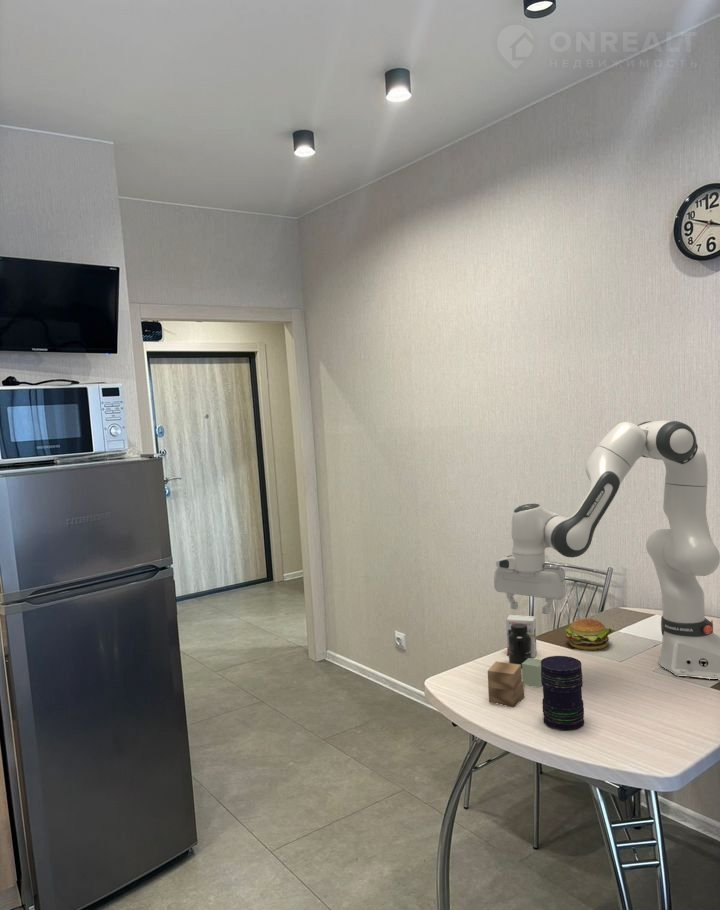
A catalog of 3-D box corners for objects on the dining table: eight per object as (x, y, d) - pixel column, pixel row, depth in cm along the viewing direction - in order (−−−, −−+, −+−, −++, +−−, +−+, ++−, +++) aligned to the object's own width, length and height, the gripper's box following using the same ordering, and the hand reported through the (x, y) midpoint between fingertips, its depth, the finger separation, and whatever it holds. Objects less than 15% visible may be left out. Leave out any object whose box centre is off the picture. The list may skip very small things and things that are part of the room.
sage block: (546, 681, 197) (545, 660, 197) (539, 687, 193) (538, 666, 193) (529, 678, 200) (528, 657, 200) (522, 684, 196) (521, 663, 196)
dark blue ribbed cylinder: (560, 734, 166) (557, 673, 165) (534, 718, 175) (531, 660, 174) (593, 724, 170) (590, 664, 169) (566, 709, 179) (563, 652, 178)
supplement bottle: (532, 668, 207) (530, 629, 206) (509, 668, 208) (507, 629, 208) (531, 660, 214) (529, 622, 213) (509, 660, 215) (507, 622, 214)
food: (557, 647, 223) (556, 623, 223) (577, 635, 234) (576, 612, 233) (599, 655, 214) (598, 630, 214) (617, 642, 224) (616, 618, 224)
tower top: (521, 680, 188) (521, 664, 188) (514, 690, 182) (513, 674, 182) (496, 677, 191) (495, 661, 191) (488, 687, 185) (487, 670, 185)
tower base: (524, 698, 188) (523, 681, 187) (513, 708, 182) (512, 691, 182) (500, 693, 192) (499, 677, 192) (489, 702, 186) (488, 686, 186)
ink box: (506, 656, 219) (504, 619, 218) (509, 650, 223) (507, 614, 222) (535, 658, 215) (533, 620, 214) (537, 652, 220) (535, 615, 219)
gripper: (569, 563, 191) (570, 613, 192) (500, 556, 203) (502, 603, 204) (560, 568, 186) (561, 619, 187) (490, 561, 198) (492, 608, 199)
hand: (529, 611), depth 196 cm, fingers open, 8 cm apart
